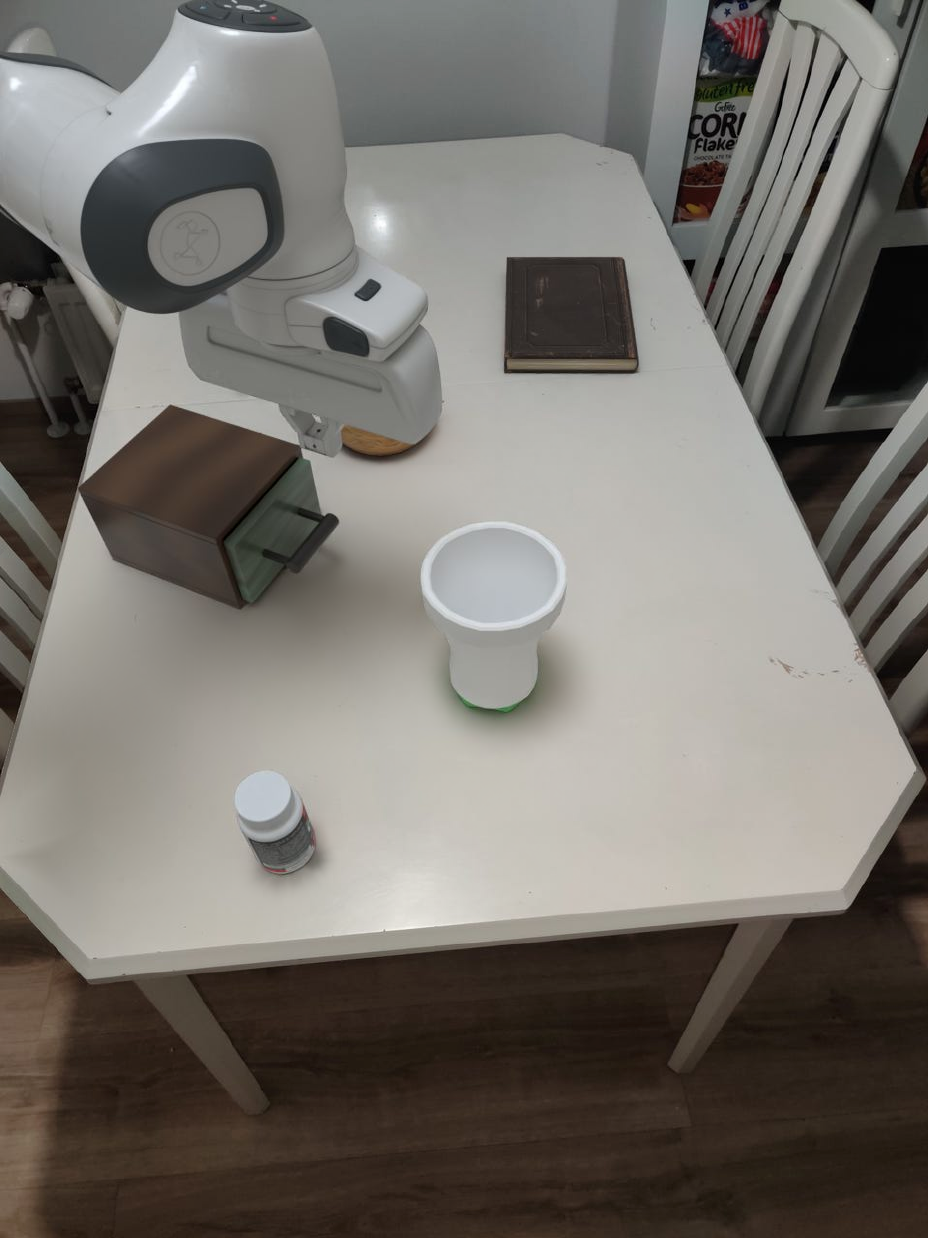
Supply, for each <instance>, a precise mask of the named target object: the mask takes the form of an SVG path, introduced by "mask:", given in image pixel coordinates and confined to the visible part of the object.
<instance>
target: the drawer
mask: <svg viewBox="0 0 928 1238" xmlns="http://www.w3.org/2000/svg"><path fill="white" fill-rule="evenodd" d="M339 525H340V519H339V517H338V516H337V515H336V514H334V513H333V512H327V513H326V514H322V509H321V506H320V502H319V496H318V491H317V486H316V482H315V477H314V472H313V467H312V463H311V460H309V459H306V458H304V457H303V458H299V459H298V460H297V461H296V462H295V463H294V464H293V466H292V467H291V468H290V469H289V470H288V471H287V469H286V470H285V471H284V472H283V473H282V474H281V475H280V476H279V478H278V479H277V480H276V481H275V482H274V483H273V484H272V485H271V486H270V487H269V489H268V490H267V491H266V492H265V493H264V494H263V495H262V496H261V497H260V498H259V500H258V501H257V502H256V503H255V504H254V505H253V506H252V507H251V508H250V509H249V511H248V512H247V513H246V514H245V515H244V516H243V517H242V518H241V519H240V520H239V522H238V523H237V524H236V525H235V526H234V527H233V528H232V529H231V530H230V531H229V533H228V534H227V535H226V536H225V537H224V538H223V539H222V540H223V543H224V546H225V549H226V552H227V555H228V557H229V560H230V563H231V566H232V569H233V572H234V575H235V578H236V580H237V583H238V586H239V589H240V592H241V595H242V598H243V599H244V600H246V601H247V602H249V603H252V604H254V603H255V601H256V600H257V599H258V598H259V597H260V595H262V593H263V592H265V590H266V588H267V587H268V586H269V585H270V584H271V582H272V581H273V580H274V578H275V577H276V576H278V574H279V573H280V571H281V570H282V569H283V568H284V567H285V566H286V568H287V569H288V570H289V571H290V572H291V573H293V574H297V575H298V574H300V573H301V572H302V570H303V569H304V568H305V567H306V565H308V563H309V562H310V560H311V559H312V558H313V557H314V555H315V554H316V553H317V552H318V551H319V550H320V548H321V547H322V545H324V543H325V542H326V541H327V539H328V538H329V537H330V536H331V534H332V533H333V532H334V531H335V529H336V528H337V527H338V526H339Z"/></svg>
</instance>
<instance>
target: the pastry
mask: <svg viewBox="0 0 928 1238" xmlns="http://www.w3.org/2000/svg"><path fill="white" fill-rule="evenodd" d="M341 436H342V443H343V444H344V445H345V446H346V447H348V448H349V449H350V450H353V451H355V452H357V453H360V454H364V455H368V456H390V455H394V454H395V455H396V454H399V453H402V452H404V451H407V450H409V449H410V448H412V447H413V446H415V444H407V443H404V442H401V441H398V440H394V439H391V438H388V437H385V436H381V435H378V434H375V433H371V432H368V431H365V430H362V429H358V428H355V427H352V426H349V425H344V427H343V428H342V430H341Z"/></svg>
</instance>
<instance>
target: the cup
mask: <svg viewBox="0 0 928 1238" xmlns="http://www.w3.org/2000/svg"><path fill="white" fill-rule="evenodd" d="M419 578H420V587H421V593H422V599H423V605H424V610H425V612H426V613H427V615H428V617H429V619H431V620H432V622H433V624H434V625H435V626H436V627H437V628H438V629H439V630H441V632H443V634H444V636H445V638H446V640H447V641H448V644H449V648H450V649H449V650H450V655H449V664H448V665H449V666H448V667H449V678H450V683H451V685H452V687H453V689H454V691H455V692H456V693H457V695H458V697H459V698H460V699H461V701H462V702H463V704H464V705H466V706H467V707H469V708H471V707H472V708H473V707H474V708H475V707H477V708H482V709H491V710H497V711H500V712H504V713H507V712H511V711H512V710H513V709H514V708H515V707H517V705H519V704H520V703H521V702H522V701H523V700H524V699H525V698H527V697H528V696H529V695H530V694H531V692H533V690H534V688H535V687H536V685H537V680H538V672H539V671H538V670H539V658H538V654H537V652H538V646H539V643H540V641H541V639H542V636H543V635H544V634H545V633H546V632H547V631H549V630H550V629H551V628H552V626H554V624H555V622H556V621H557V620H558V618H559V616H560V615H561V612H562V609H563V606H564V604H565V601H566V594H567V586H568V567H567V563H566V561H565V558H564V554H563V553H562V552H561V551H560V550H559V548H558V547H557V546H556V545H555V544H554V543H553V542H552V541H551V540H550V539H548V538H547V537H546V536H544V535H543V534H542V533H540V532H538V531H536V530H533V529H532V528H530V527H527V526H525V525H521V524H517V523H514V522H510V521H482V522H476V523H471V524H470V523H469V524H467V525H464V526H462V527H459V528H457V529H454V530H452V531H449V532H448V533H447V534H445V535H442V537H440V538H438V539H437V540H436V541H435V543H434V544H433V545H432V546H431V547H430V549H429V550H428V552H427V553H426V556H425V557H424V560H423V561H422V563H421V570H420V577H419Z"/></svg>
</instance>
